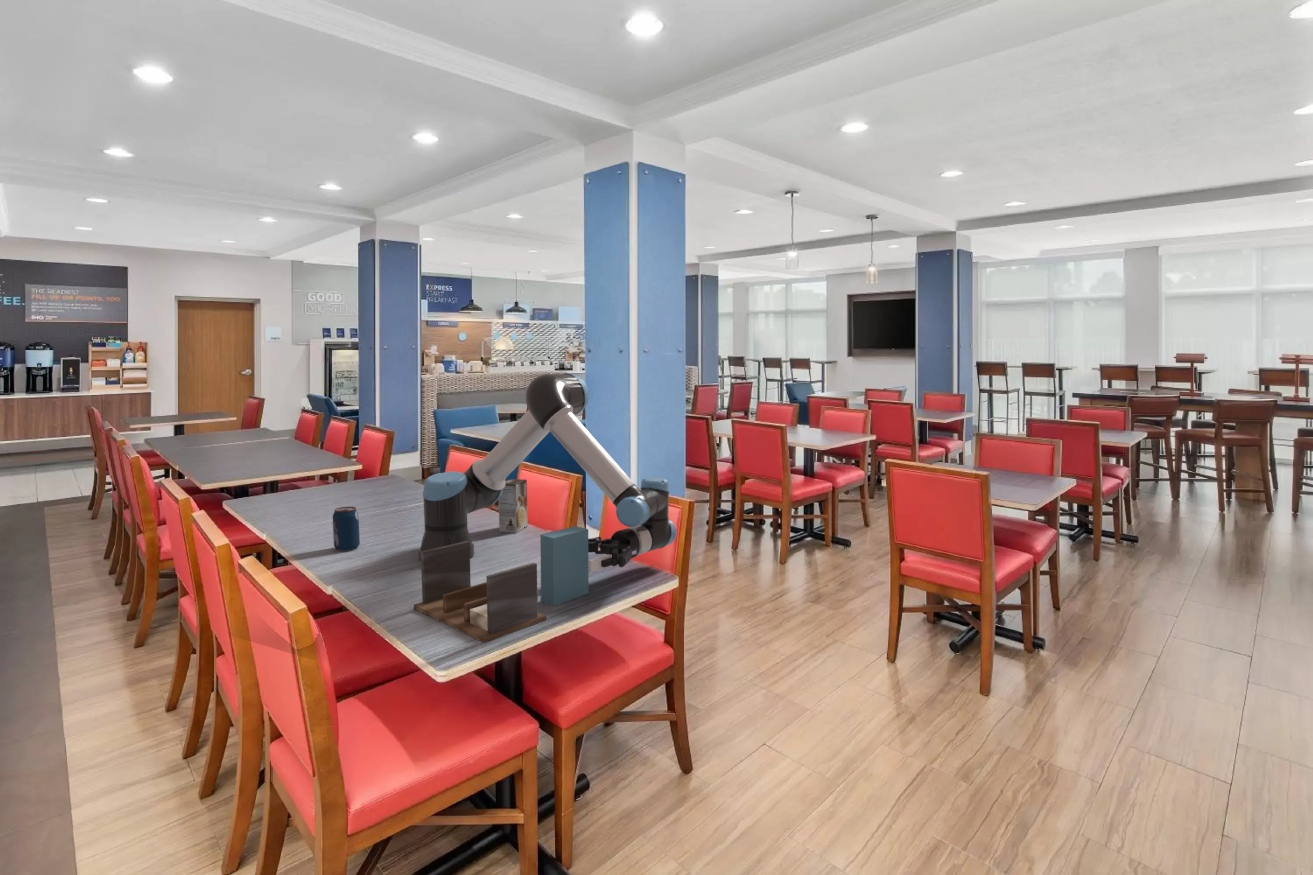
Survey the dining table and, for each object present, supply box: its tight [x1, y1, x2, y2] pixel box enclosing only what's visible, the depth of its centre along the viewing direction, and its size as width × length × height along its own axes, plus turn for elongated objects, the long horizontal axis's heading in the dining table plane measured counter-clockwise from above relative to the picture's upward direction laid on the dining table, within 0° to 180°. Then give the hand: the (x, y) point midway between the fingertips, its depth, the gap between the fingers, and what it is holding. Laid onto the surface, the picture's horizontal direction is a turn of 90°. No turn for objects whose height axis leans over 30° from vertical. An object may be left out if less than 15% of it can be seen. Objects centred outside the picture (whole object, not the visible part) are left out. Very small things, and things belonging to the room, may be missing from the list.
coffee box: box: [498, 478, 529, 534], centre depth 224 cm, size 9×6×16 cm
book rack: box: [413, 541, 547, 643], centre depth 151 cm, size 27×16×13 cm, turn 49°
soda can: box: [332, 506, 361, 552], centre depth 200 cm, size 7×7×12 cm
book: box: [539, 525, 589, 607], centre depth 162 cm, size 4×11×16 cm, turn 139°
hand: (569, 560), depth 163 cm, fingers open, 13 cm apart
